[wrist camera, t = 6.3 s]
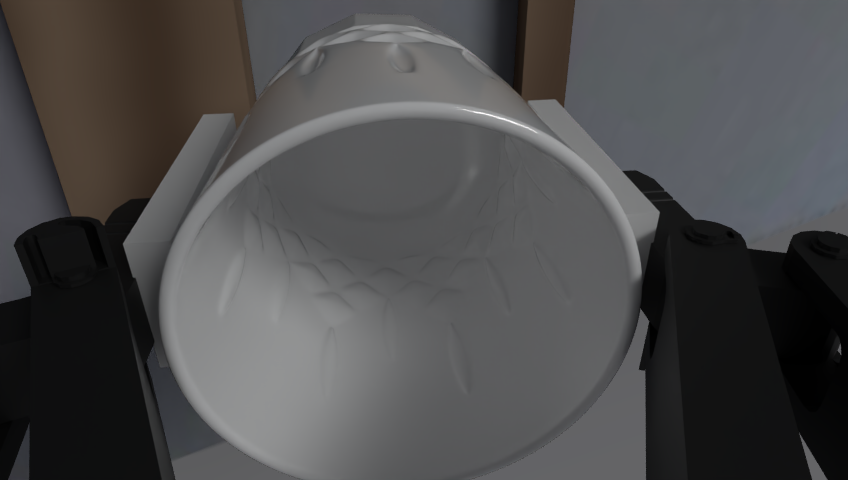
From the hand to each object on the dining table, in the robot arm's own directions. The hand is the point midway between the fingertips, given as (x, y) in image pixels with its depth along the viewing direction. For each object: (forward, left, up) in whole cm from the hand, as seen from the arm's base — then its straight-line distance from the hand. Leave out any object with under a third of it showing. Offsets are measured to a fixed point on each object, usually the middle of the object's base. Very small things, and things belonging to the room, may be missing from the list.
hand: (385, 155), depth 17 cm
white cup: (0, 0, -2) cm, 2 cm away
